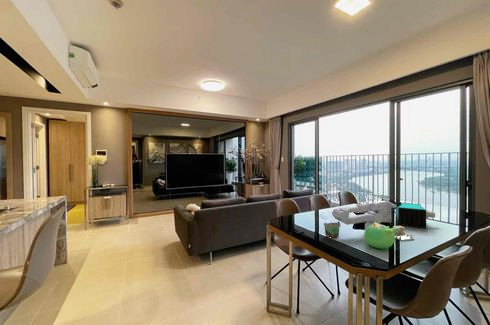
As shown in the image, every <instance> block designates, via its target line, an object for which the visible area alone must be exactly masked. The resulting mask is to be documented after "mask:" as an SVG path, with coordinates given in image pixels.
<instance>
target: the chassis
mask: <svg viewBox="0 0 490 325" xmlns="http://www.w3.org/2000/svg"><path fill="white" fill-rule="evenodd" d="M395 240H397V241H398V240H399V241H401V242H405V241H406V242H407V241H415V237H413V234H410V235H409V233H406V235H405V234H403V235H397V234H395Z"/></svg>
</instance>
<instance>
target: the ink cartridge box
mask: <svg viewBox="0 0 490 325" xmlns="http://www.w3.org/2000/svg"><path fill="white" fill-rule="evenodd" d="M376 213H379V214H382V216H383V220H382V221H381V223H392V221H393V220H392V208H385V209H379V210H376Z"/></svg>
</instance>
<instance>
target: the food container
mask: <svg viewBox="0 0 490 325" xmlns="http://www.w3.org/2000/svg"><path fill="white" fill-rule="evenodd" d="M323 226H324V234H325V237H326V236H327V237H326V238H328V237H331V238H330V239H338V238H339V234H340V227H341V221H337V222H329V223H328V222H324V223H323ZM337 237H338V238H337Z"/></svg>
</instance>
